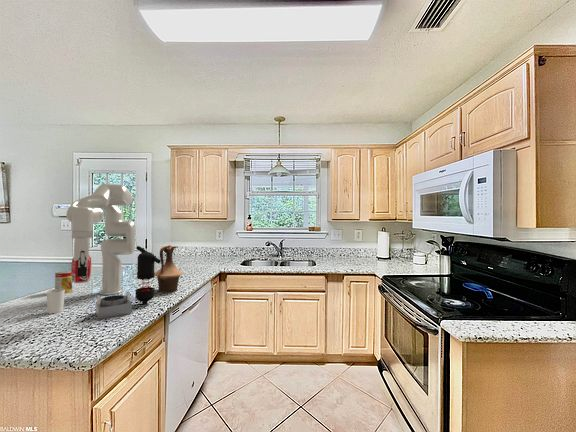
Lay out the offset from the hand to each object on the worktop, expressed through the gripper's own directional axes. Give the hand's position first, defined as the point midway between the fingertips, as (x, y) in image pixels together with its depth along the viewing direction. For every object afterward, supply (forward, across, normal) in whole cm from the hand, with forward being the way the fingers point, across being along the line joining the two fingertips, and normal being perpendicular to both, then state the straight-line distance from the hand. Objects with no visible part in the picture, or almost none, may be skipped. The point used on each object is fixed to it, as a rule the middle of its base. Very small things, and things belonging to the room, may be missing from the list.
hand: (81, 274), depth 127 cm
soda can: (+3, 0, 0) cm, 3 cm away
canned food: (+20, -57, -6) cm, 60 cm away
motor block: (+19, +1, +12) cm, 23 cm away
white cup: (+20, -17, -9) cm, 27 cm away
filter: (+20, -5, +28) cm, 35 cm away
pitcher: (+20, -28, +45) cm, 56 cm away
